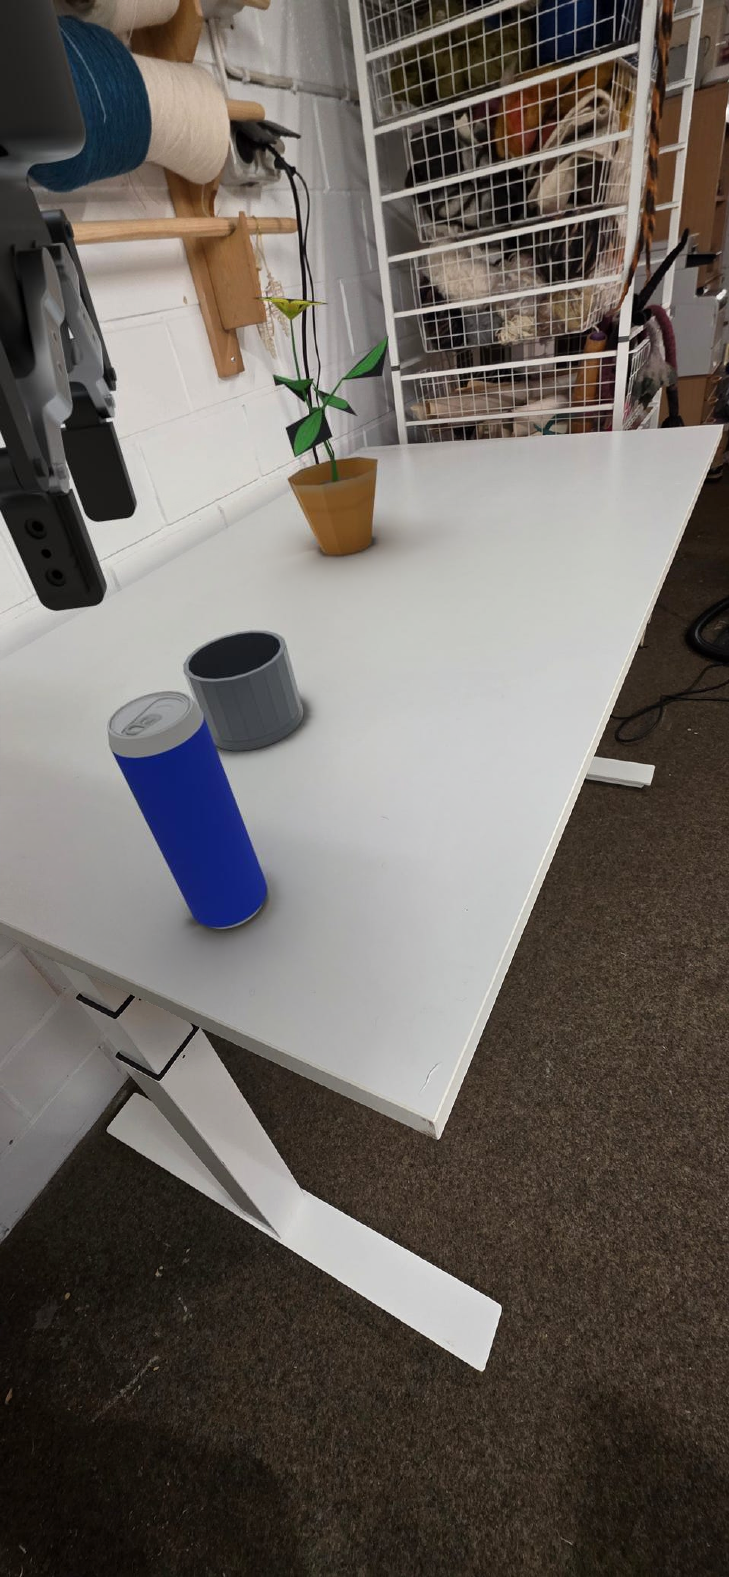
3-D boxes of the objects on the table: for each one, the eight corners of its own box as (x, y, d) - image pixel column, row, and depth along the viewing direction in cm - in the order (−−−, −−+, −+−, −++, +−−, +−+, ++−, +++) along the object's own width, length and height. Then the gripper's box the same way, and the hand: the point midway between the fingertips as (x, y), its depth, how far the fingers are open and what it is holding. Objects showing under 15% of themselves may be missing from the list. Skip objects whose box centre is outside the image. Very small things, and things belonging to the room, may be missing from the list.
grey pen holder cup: (210, 761, 58) (184, 692, 54) (205, 711, 65) (182, 646, 61) (310, 734, 59) (292, 663, 55) (295, 687, 66) (278, 621, 62)
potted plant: (372, 574, 86) (325, 284, 67) (260, 566, 95) (191, 309, 77) (435, 524, 97) (410, 263, 78) (329, 521, 106) (284, 287, 88)
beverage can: (227, 866, 47) (150, 682, 38) (284, 887, 45) (217, 694, 36) (177, 919, 44) (81, 731, 35) (236, 944, 42) (149, 749, 33)
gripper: (-161, -14, 21) (44, 507, 32) (-568, -222, 11) (-57, 660, 22) (77, -38, 22) (201, 487, 32) (-90, -263, 11) (177, 628, 22)
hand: (98, 556), depth 27 cm, fingers open, 8 cm apart
